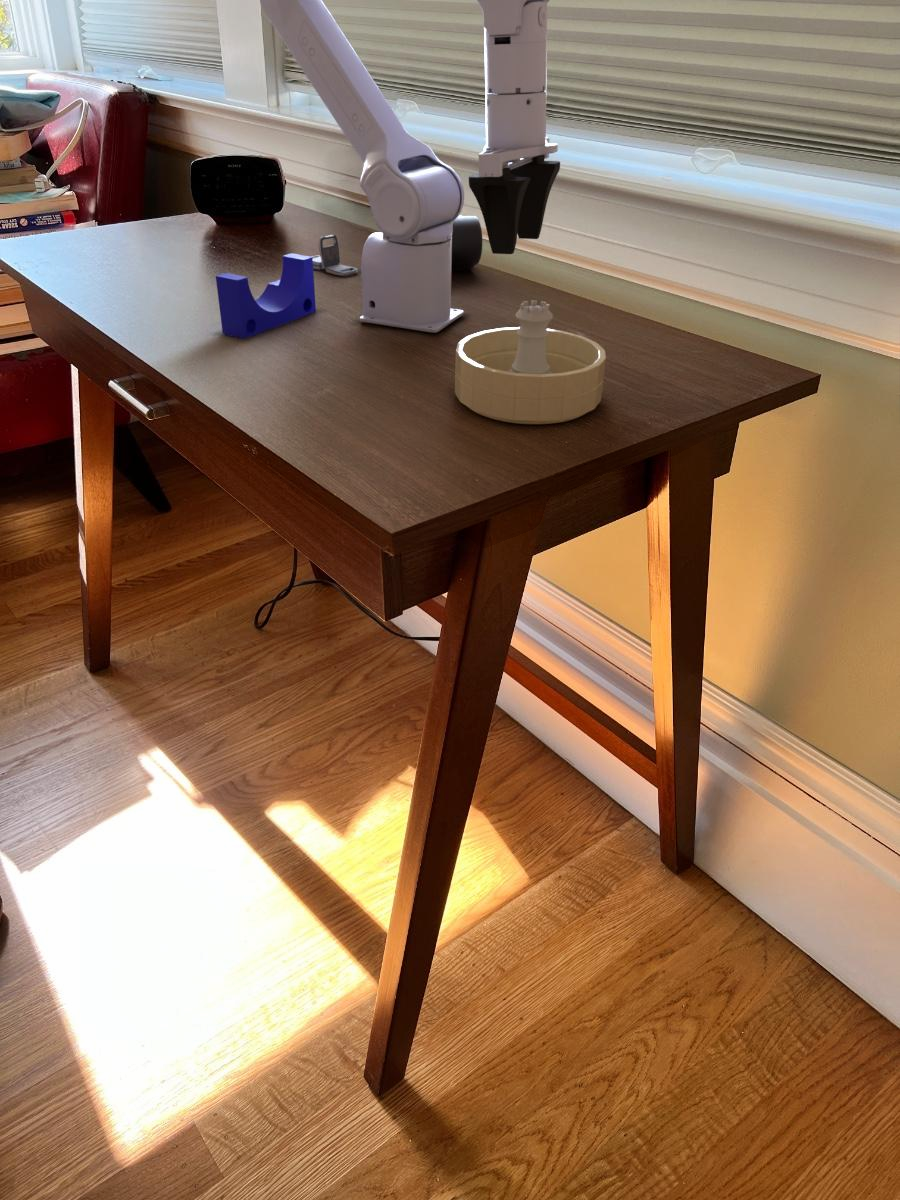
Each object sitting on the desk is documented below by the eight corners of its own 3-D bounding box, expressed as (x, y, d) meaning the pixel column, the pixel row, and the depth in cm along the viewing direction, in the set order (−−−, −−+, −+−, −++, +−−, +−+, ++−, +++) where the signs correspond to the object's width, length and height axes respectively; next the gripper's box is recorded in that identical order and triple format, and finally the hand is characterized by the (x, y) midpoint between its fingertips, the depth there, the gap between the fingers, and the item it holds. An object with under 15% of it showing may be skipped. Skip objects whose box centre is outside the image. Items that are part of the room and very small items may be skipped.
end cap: (407, 279, 116) (407, 223, 112) (395, 265, 122) (394, 212, 118) (482, 275, 119) (484, 220, 115) (466, 262, 124) (467, 209, 120)
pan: (431, 411, 80) (432, 361, 77) (486, 365, 90) (488, 319, 87) (575, 437, 76) (580, 386, 73) (616, 386, 86) (622, 339, 83)
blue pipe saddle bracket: (285, 305, 106) (281, 251, 102) (315, 311, 104) (312, 257, 101) (212, 331, 97) (204, 273, 94) (243, 338, 95) (237, 280, 92)
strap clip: (300, 265, 121) (297, 232, 119) (317, 261, 123) (315, 228, 121) (343, 277, 117) (341, 242, 114) (360, 272, 118) (358, 238, 116)
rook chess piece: (550, 404, 80) (558, 313, 76) (500, 399, 81) (505, 309, 77) (555, 386, 84) (563, 299, 79) (508, 382, 85) (513, 295, 80)
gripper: (530, 97, 78) (530, 262, 85) (579, 86, 89) (575, 233, 96) (455, 99, 80) (460, 259, 88) (511, 88, 91) (512, 231, 99)
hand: (516, 245), depth 92 cm, fingers open, 7 cm apart
